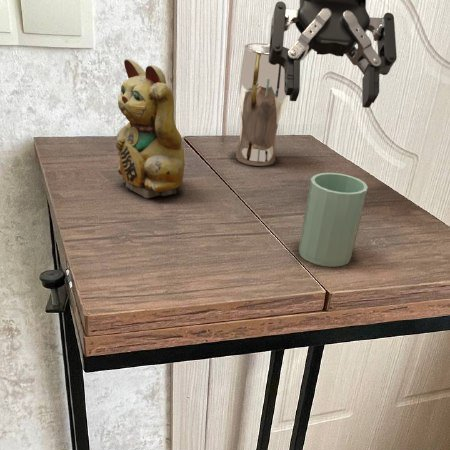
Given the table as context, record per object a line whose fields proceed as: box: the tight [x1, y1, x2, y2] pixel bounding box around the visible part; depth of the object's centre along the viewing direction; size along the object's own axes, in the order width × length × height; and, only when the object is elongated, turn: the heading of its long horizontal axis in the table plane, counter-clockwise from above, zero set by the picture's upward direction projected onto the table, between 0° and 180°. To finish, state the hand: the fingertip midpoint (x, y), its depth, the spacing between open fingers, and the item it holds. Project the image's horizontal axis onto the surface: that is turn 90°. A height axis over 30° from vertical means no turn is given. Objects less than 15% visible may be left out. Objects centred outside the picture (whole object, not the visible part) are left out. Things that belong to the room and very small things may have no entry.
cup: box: [298, 172, 369, 268], centre depth 69 cm, size 6×6×8 cm
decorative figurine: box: [115, 58, 185, 199], centre depth 78 cm, size 10×8×15 cm
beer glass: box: [234, 42, 288, 167], centre depth 90 cm, size 7×7×15 cm
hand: (331, 100), depth 71 cm, fingers open, 8 cm apart
